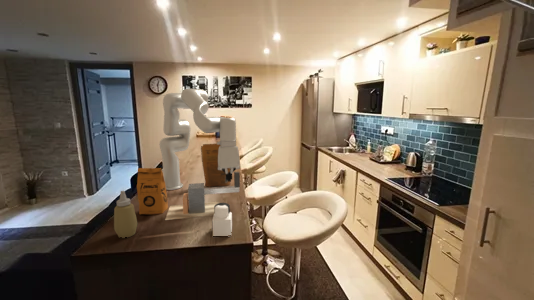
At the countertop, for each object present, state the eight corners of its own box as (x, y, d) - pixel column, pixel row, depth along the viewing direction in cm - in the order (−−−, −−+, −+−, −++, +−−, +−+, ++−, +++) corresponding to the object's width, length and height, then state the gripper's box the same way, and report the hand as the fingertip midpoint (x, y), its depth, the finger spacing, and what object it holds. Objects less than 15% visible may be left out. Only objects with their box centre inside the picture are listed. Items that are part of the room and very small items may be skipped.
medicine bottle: (214, 228, 102) (214, 201, 100) (232, 227, 103) (231, 200, 101) (212, 237, 95) (211, 208, 93) (231, 236, 96) (230, 207, 94)
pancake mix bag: (233, 186, 156) (232, 143, 151) (202, 188, 153) (200, 143, 148) (232, 183, 163) (231, 141, 158) (203, 184, 159) (201, 142, 155)
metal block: (190, 207, 122) (189, 183, 119) (204, 205, 123) (204, 182, 121) (189, 213, 114) (188, 189, 112) (204, 212, 116) (203, 188, 113)
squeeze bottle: (114, 242, 92) (109, 196, 89) (115, 232, 99) (111, 189, 96) (138, 237, 95) (134, 192, 92) (138, 228, 102) (134, 186, 99)
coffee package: (162, 217, 113) (159, 170, 109) (136, 216, 113) (131, 170, 109) (171, 208, 123) (168, 165, 119) (146, 208, 123) (143, 165, 119)
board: (170, 207, 123) (170, 205, 123) (218, 203, 129) (218, 201, 129) (165, 222, 108) (165, 219, 108) (220, 216, 114) (220, 214, 113)
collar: (184, 207, 121) (183, 193, 119) (188, 207, 121) (188, 193, 120) (183, 214, 114) (182, 198, 112) (187, 213, 114) (187, 198, 113)
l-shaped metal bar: (197, 193, 118) (196, 174, 117) (239, 190, 123) (238, 171, 122) (197, 195, 116) (196, 175, 114) (239, 191, 121) (239, 172, 119)
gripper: (212, 145, 111) (213, 184, 115) (245, 144, 115) (245, 182, 118) (212, 143, 119) (213, 179, 122) (242, 142, 122) (243, 177, 125)
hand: (229, 180), depth 120 cm, fingers closed
